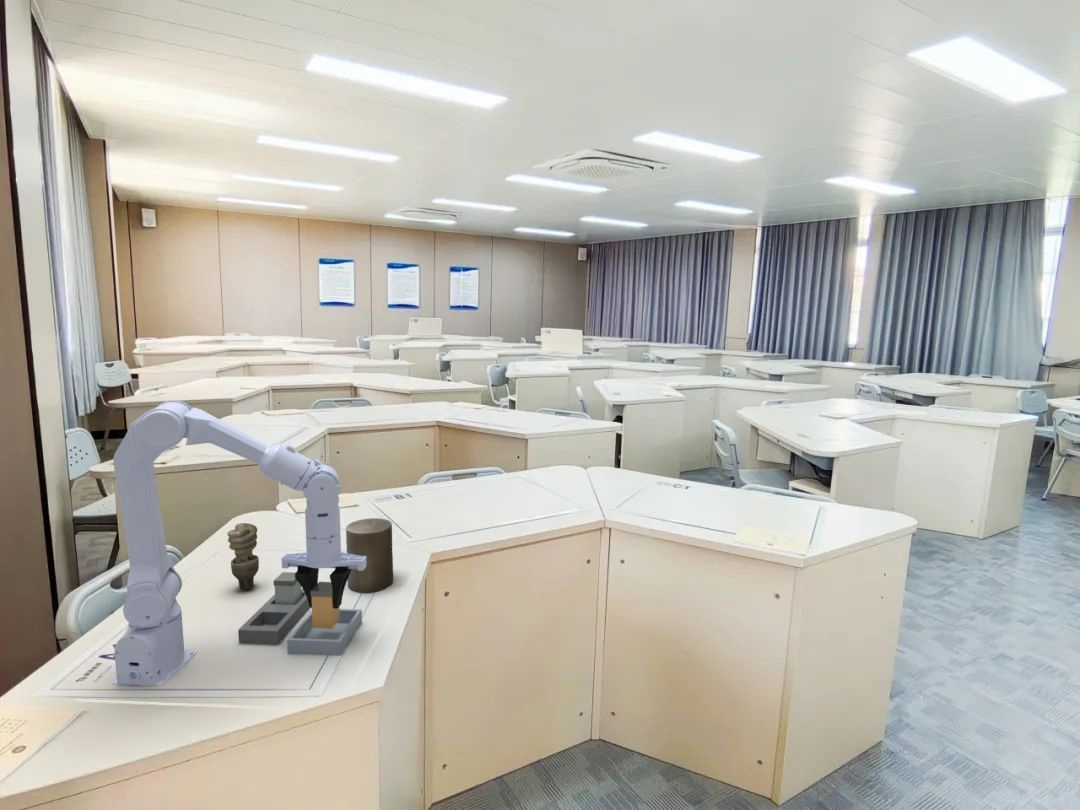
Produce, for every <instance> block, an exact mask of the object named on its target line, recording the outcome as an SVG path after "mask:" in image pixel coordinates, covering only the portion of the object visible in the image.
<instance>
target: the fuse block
mask: <svg viewBox="0 0 1080 810" xmlns="http://www.w3.org/2000/svg"><path fill="white" fill-rule="evenodd" d="M309 609H310V606H309V603H308V600H307V597H306V594H305V592H304V590H303V588H302V598H301V600H300V601H299V602H298V603H297V604H296V605H285V604H275V593H274V594H273V595H272V596H271V597H270V598H269V599H268V600H267V601H266V602H265V603H264V604H262V606H261V607H260V608H259V609H258V610H257V611H255V613H254V614H253V615H251V616H250V617H249V619H248V620H247V621H246V622H244V623H243V624H242V625H241V626H240V628H239V629H237V633H238V634H237V635H238V644H246V645H247V644H249V645H252V644H253V645H279V644H280V643H281V642H282V640H284V639H285V638H286V636H288V634H289V632H291V630H292V629H293V628H295V625H296V624H297V623H298V622H299V621H300V620H301V619H302V617H303V616H304V615H305V614H306V613H307V611H308V610H309Z"/></svg>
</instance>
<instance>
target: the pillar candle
mask: <svg viewBox="0 0 1080 810" xmlns="http://www.w3.org/2000/svg"><path fill="white" fill-rule="evenodd" d="M392 525H393V524H392V521H391V520H388V519H385V518H379V517H378V518H377V517H376V518H375V517H372V518H371V517H370V518H364V519H363V518H362V519H359V520H354V521H352V522H350V523H348V524H347V525H346V527H345V538H346V539H345V542H346V543H345V544H346V553H348V554H353V555H358V556H366V567H365V569H364V570H363V571H358V570H357V569H352V571H351V573H350V575H349V577H348V580H347V587H348V590H350V591H351V592H354V593H358V594H373V593H378V592H381V591H384V590H386V589H387V588H389V587H391V586H392V585H393V584H394V559H393V558H394V557H393V526H392Z"/></svg>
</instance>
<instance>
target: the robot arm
mask: <svg viewBox="0 0 1080 810" xmlns="http://www.w3.org/2000/svg"><path fill="white" fill-rule="evenodd" d="M183 439H186V443H185V446H196V445H201V444H202V445H203V444H211V445H214V446H216V447H219V448H220V449H223V450H225V451H228V452H230V453H232V454H235V455H238V457H242V458H245V459H246V460H248V461H252V462H254V463H255V464H257V465H258V468H259V470H260V473H261V475H263V476H266V477H268V478H269V479H272V480H274V481H275V482H278V483H280V484H282V485H283V486H284V485H285V486H286V487H288V488H291V489H293V490H294V491H300V492H302V493H303V496H304V497H305V500H306V508H305V511H304V518H305V519H304V520H305V521H304V522H305V542H306V543H305V545H306V546H305V547H306V548H305V549H306V552H298V553H286V554H285V555H283V556H281V569H289V568H297V570H296V572H294V573H295V579H296V580H297V581H298V582H299V583H300V585H301V588H302V589H303V590H304V592H305V594H306V597H307V600H308V603H309V606H310V608H311V609H312V597H311V590H312V589H313V588H314V587H315V586H316V585H317V584H318V583H319V571H320V570H319V569H334V570H333V571H332V572H331V573H330V574H329V579H330V582H331V584H332V589H333V607H334V609H338V608H339V606H341V605H342V602H343V595H344V591H345V587H346V585H347V583H348V577H349V575H350V573H351V571H352V569H357V570H358V571H363V570H364V569H365V567H366V556H358V555H353V554H348V553H347V552H344V551H343V552H342V543H341V542H342V541H341V540H342V539H341V538H342V537H341V536H342V535H341V507H340V505H339V503H340V497H339V494H340V493H341V486H340V480H339V476H338V475H339V474H338V472H337V471H336V469H335V468H334V467H333V466H331V465H330V464H329V463H328V462H321V460H319V459H317V458H314V460H313V459H311V458H310V457H307V456H305V455H303V454H301V453H300V452H297V451H295V449H296V447H295V446H294V445H292V444H290V443H289V444H288V443H287V445H283V444H282V443H278V444H274V445H267V444H265V443H263V442H261V441H259V440H258V439H255V438H254V437H252V436H251V435H249V434H246V433H245V432H243V431H241V430H239V429H237V428H236V427H234V426H232V425H230V424H229V423H228V422H227V423H226V422H225V421H222V420H221V419H219V418H217V416H216V417H215V416H213V415H212V414H210V413H208V412H207V411H204V410H203V409H200V408H197V407H191V406H190V405H189V404H188V403H186V402H182V401H181V400H173V399H172V400H167V401H164V402H162V403H160V404H158V405H157V406H156V407H154V408H152V409H150V410H148V411H146V412H145V413H143V414H142V415H141V416H140V417H138V418H137V419H136V420H134V421H133V422H132V423H130V424H129V427H128V430H127V432H126V433H125V436H124V437H123V439H122V441H121V443H120V444H119V446H118V447H117V450H116V451H115V452H114V455H113V459H112V460H113V462H112V463H113V466H114V467H113V469H114V475H115V480H116V481H115V482H116V487H117V492H118V500H119V505H120V511H121V512H120V513H121V517H122V525H123V529H124V537H125V543H126V549H127V554H128V562H129V571H128V576H127V583H126V591H127V592H126V593H127V595H126V599H125V602H124V604H123V608H122V613H123V616H124V618H125V620H126V621H127V622H128V625H127V629H126V631H125V633H124V634H123V635H122V637H120V639H119V640H118V641H117V642H116V644H115V647H114V661H115V674H116V678H115V680H113V681H112V682H111V685H115V686H117V685H119V686H140V687H141V686H144V687H148V686H149V687H150V686H151V687H160V686H163V685H164V684H165V683H166V682H167V681H168V680H170V679H171V677H172V676H174V675H175V674H176V673H177V672H178V671H179V670H180V669H181V668H182V667H183V666H185V664H186V663H188V662H189V661H190V659H192V658H193V657H194V656H195V655H197V650H185V644H184V643H185V641H184V639H185V638H184V627H183V626H184V625H183V615H182V606H181V605H180V604H179V602H178V601H177V599H176V598H177V597H178V595H179V593H180V592H181V589H182V587H183V580H182V577H181V575H180V574H179V573H178V572H177V570H176V569H175V567H174V563H173V560H172V557H171V556H170V555H169V554H168V551H167V544H166V539H165V531H164V525H163V517H162V511H161V505H160V498H159V497H160V496H159V491H158V486H157V485H158V484H157V478H156V472H155V471H156V470H155V464H154V463H155V461H156V460H157V459H158V458H159V457H160V456H161V455H162V454H163V453H164V452H166V451H168V450H170V449H172V448H173V447H175V446H177V445H178V444H180V443H181V442H182V441H183ZM310 608H309V609H310Z"/></svg>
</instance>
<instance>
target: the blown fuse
mask: <svg viewBox="0 0 1080 810" xmlns="http://www.w3.org/2000/svg"><path fill="white" fill-rule="evenodd" d="M311 597H312V608H311V611H312V628H325V629H333V627H334V626H335V625H336V623H337V622H338V620H339V619H340V609H341V608H340V606H341V605H340V606H339V608H338V609H334V607H333V589H332V584H331V581H318V584H317V585H316V586H315V587H314V588H313V589H312V590H311Z"/></svg>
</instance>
